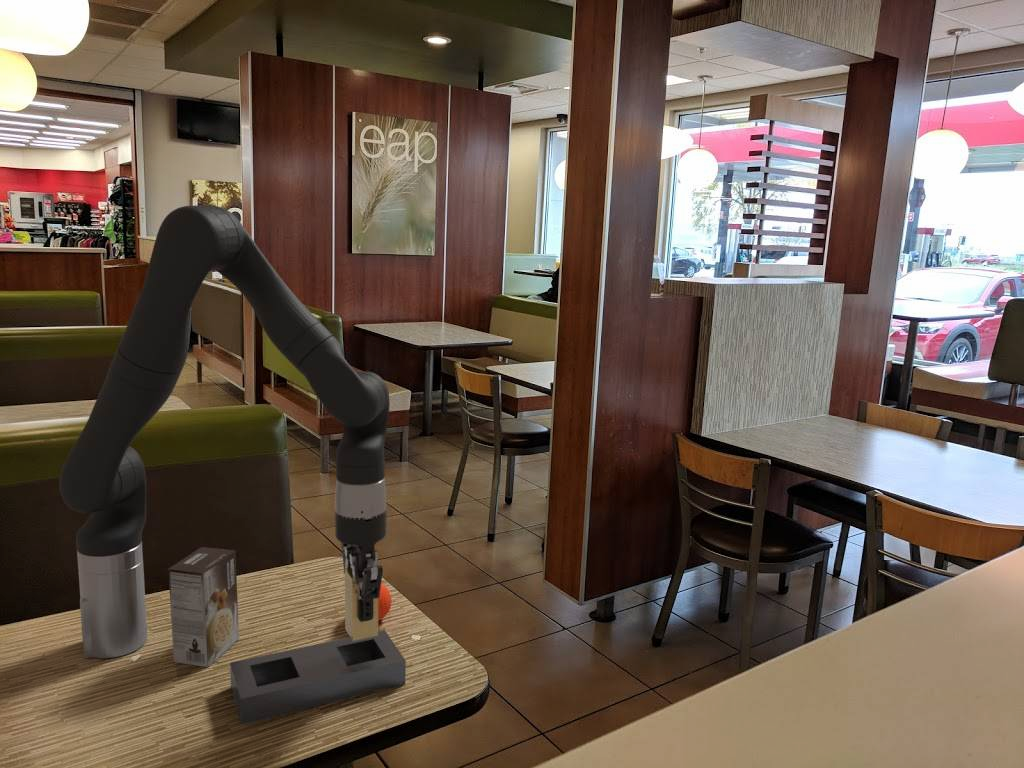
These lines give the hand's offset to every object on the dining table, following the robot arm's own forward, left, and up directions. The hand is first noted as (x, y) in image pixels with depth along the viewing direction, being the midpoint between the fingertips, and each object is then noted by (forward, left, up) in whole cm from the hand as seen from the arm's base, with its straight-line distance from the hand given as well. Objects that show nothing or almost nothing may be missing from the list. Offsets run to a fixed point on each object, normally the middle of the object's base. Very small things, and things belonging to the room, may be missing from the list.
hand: (361, 612), depth 118 cm
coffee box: (-21, +17, -11) cm, 29 cm away
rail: (-7, 0, -11) cm, 13 cm away
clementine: (+6, +16, -11) cm, 20 cm away
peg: (0, 0, -3) cm, 3 cm away
